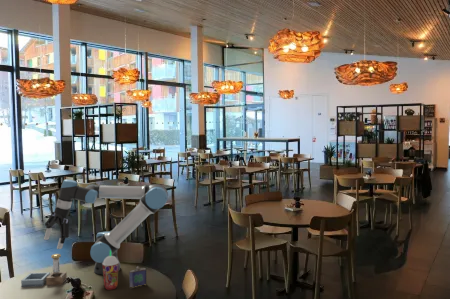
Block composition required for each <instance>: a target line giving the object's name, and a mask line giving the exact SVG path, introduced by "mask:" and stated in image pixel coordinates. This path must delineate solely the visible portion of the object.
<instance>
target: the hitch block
mask: <svg viewBox="0 0 450 299" xmlns="http://www.w3.org/2000/svg"><path fill="white" fill-rule="evenodd" d="M66 278H67V271H60V276H54V277H53V271H52V272H50V275H49V276H48V277H47V278H46V283H45V285H47V286H52V285H54V286H56V285H58V286H60V285H63V284H64V282H65V281H66V280H67V279H66ZM65 279H66V280H65Z"/></svg>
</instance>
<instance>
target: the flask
mask: <svg viewBox="0 0 450 299" xmlns="http://www.w3.org/2000/svg"><path fill="white" fill-rule="evenodd" d="M128 274H129V277H128V278H129V288H130V287H135V286H138V285H144V284H146V285H147V269H146V268H145V267H140V266H139V265H137V266H136V267H135V269H133V270H132V269H131V270H130V271H129V273H128Z"/></svg>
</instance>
